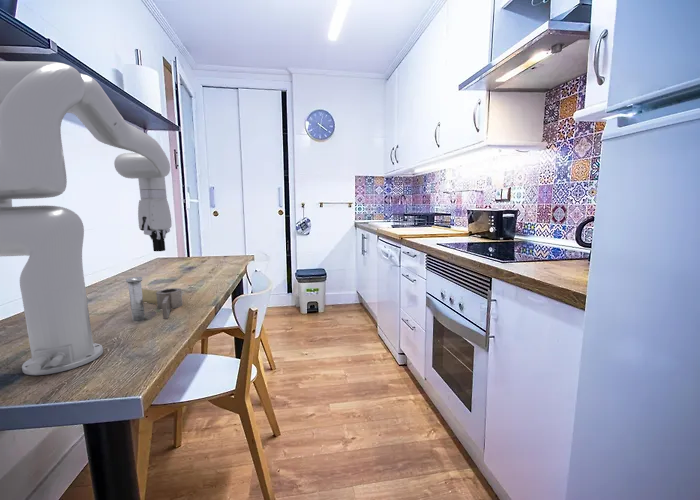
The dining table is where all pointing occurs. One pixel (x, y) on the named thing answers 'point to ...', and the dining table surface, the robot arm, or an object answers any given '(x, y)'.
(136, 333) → the dining table surface
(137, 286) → the pin
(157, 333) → the dining table surface
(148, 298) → the hinge leaf
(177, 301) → the hinge leaf
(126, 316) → the dining table surface
